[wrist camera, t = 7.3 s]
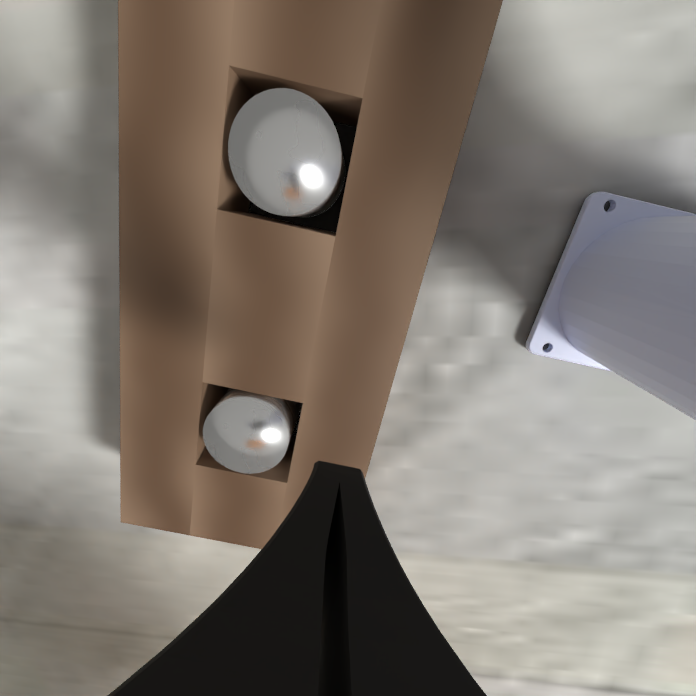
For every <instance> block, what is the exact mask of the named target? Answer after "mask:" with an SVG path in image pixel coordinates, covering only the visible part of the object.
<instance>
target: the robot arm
mask: <svg viewBox="0 0 696 696" xmlns="http://www.w3.org/2000/svg"><path fill="white" fill-rule="evenodd" d="M607 201H609V202H610V208H609V209H608V211H605V210H604V204H605V203H606V202H607ZM546 343H549V347H548V348H547V349H545V350H543V346H544V344H546ZM526 348H527V350H528V351H529V352H531V353H533V354H536V355H540V356H545V357H549V358H554V359H558V360H563V361H567V362H572V363H576V364H581V365H585V366H590V367H595V368H599V369H604V370H608V371H613V372H615V373H616V374H618V375H620V376H621V377H623V378H625V379H626V380H628V381H630V382H632V383H633V384H635V385H637V386H638V387H640V388H642V389H644V390H645V391H647V392H649V393H650V394H652V395H654V396H655V397H657V398H659V399H661V400H662V401H664V402H666V403H667V404H669V405H671V406H673V407H674V408H676V409H678V410H679V411H681V412H683V413H684V414H686V415H688V416H690V417H691V418H693V419H695V420H696V214H694V213H690V212H686V211H682V210H677V209H673V208H669V207H665V206H661V205H657V204H653V203H649V202H644V201H640V200H636V199H632V198H628V197H624V196H620V195H616V194H611V193H607V192H594V193H592V194H590V195H589V196H588V197H587V198H586V199H585V201H584V203H583V206H582V208H581V211H580V213H579V215H578V218H577V220H576V223H575V225H574V228H573V230H572V232H571V235H570V237H569V240H568V242H567V244H566V247H565V249H564V252H563V254H562V257H561V259H560V261H559V264H558V266H557V269H556V271H555V273H554V276H553V278H552V281H551V283H550V286H549V288H548V290H547V293H546V295H545V298H544V300H543V303H542V305H541V307H540V310H539V312H538V315H537V317H536V319H535V322H534V324H533V327H532V329H531V332H530V334H529V336H528V339H527V341H526ZM108 696H487V695H486V694H485V693H484V692H483V690H482V689H481V688H480V686H479V685H478V684H477V683H476V681H475V680H474V679H473V677H472V676H471V675H470V673H469V672H468V670H467V669H466V667H465V666H464V665H463V663H462V662H461V660H460V659H459V658H458V656H457V655H456V653H455V652H454V650H453V649H452V648H451V646H450V645H449V643H448V642H447V641H446V639H445V638H444V636H443V635H442V633H441V632H440V631H439V629H438V627H437V626H436V624H435V623H434V621H433V620H432V618H431V616H430V615H429V613H428V612H427V610H426V608H425V607H424V605H423V604H422V602H421V600H420V599H419V597H418V595H417V594H416V592H415V590H414V588H413V587H412V585H411V583H410V581H409V580H408V578H407V576H406V574H405V572H404V570H403V568H402V567H401V565H400V563H399V561H398V559H397V557H396V555H395V553H394V551H393V549H392V547H391V544H390V542H389V540H388V538H387V536H386V534H385V531H384V529H383V527H382V524H381V522H380V520H379V517H378V515H377V513H376V510H375V508H374V505H373V502H372V499H371V497H370V494H369V491H368V488H367V485H366V482H365V479H364V475H363V472H362V471H361V469H358V468H353V467H348V466H344V465H339V464H334V463H329V462H324V461H317V462H316V463H314V467H313V470H312V473H311V475H310V478H309V480H308V482H307V484H306V485H305V487H304V489H303V491H302V493H301V494H300V496H299V498H298V499H297V501H296V503H295V504H294V506H293V507H292V509H291V511H290V512H289V514H288V515H287V516H286V518H285V519H284V521H283V522H282V523H281V525H280V526H279V527H278V529H277V530H276V532H275V533H274V534H273V536H272V537H271V538H270V540H269V541H268V542H267V543H266V545H265V546H264V547H263V548H262V550H261V551H260V552H259V553H258V555H257V556H256V557H255V558H254V559H253V560H252V562H251V563H250V564H249V565H248V566H247V567H246V568H245V570H244V571H243V572H242V573H241V574H240V575H239V576H238V577H237V578H236V579H235V580H234V581H233V583H232V584H231V585H230V586H229V587H228V588H227V589H226V590H225V591H224V592H223V593H222V594H221V595H220V596H219V597H218V598H217V599H216V600H215V601H214V602H213V603H212V604H211V605H210V606H209V607H208V608H207V609H206V610H205V611H204V612H203V613H202V614H201V615H200V616H199V617H198V618H197V619H195V620H194V621H193V622H192V623H191V624H190V625H189V626H188V627H187V628H186V629H185V630H184V631H183V632H182V633H181V634H179V635H178V636H177V637H176V638H175V639H174V640H173V641H172V642H171V643H170V644H169V645H167V646H166V647H165V648H164V649H163V650H162V651H161V652H159V653H158V654H157V655H156V656H155V657H154V658H152V659H151V660H150V661H149V662H148V663H146V664H145V665H144V666H143V667H142V668H140V669H139V670H138V671H137V672H136V673H134V674H133V675H132V676H131V677H130V678H128V679H127V680H126V681H125V682H124V683H122V684H121V685H120V686H119V687H118V688H116V689H115V690H114V691H113V692H112V693H110V694H109V695H108Z"/></svg>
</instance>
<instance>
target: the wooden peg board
mask: <svg viewBox="0 0 696 696" xmlns="http://www.w3.org/2000/svg"><path fill="white" fill-rule="evenodd" d="M502 1H503V0H118V62H119V266H120V471H121V522H123V523H128V524H133V525H139V526H144V527H149V528H154V529H160V530H165V531H170V532H175V533H181V534H186V535H191V536H196V537H201V538H207V539H212V540H217V541H222V542H228V543H233V544H238V545H243V546H248V547H254V548H259V549H262V548H263V547H264V546H265V545H266V543H267V542H268V541H269V540H270V538H271V537H272V536H273V534H274V533H275V532H276V530H277V529H278V527H279V526H280V525H281V523H282V522H283V521H284V519H285V518H286V516H287V515H288V514H289V512H290V511H291V509H292V507H293V506H294V504H295V503H296V501H297V499H298V498H299V496H300V494H301V493H302V491H303V489H304V487H305V485H306V484H307V482H308V480H309V478H310V475H311V473H312V470H313V467H314V463H316V462H317V461H324V462H329V463H334V464H339V465H344V466H348V467H353V468H358V469H361V471H362V472H363V475H364V479H365V477H366V473H367V470H368V466H369V463H370V460H371V456H372V453H373V449H374V446H375V442H376V439H377V435H378V432H379V428H380V425H381V421H382V418H383V414H384V411H385V407H386V404H387V401H388V397H389V394H390V390H391V387H392V383H393V380H394V376H395V373H396V369H397V366H398V362H399V359H400V355H401V352H402V348H403V345H404V341H405V338H406V335H407V331H408V328H409V324H410V321H411V317H412V314H413V310H414V307H415V303H416V300H417V296H418V293H419V289H420V286H421V282H422V279H423V276H424V272H425V269H426V265H427V262H428V258H429V255H430V251H431V248H432V244H433V241H434V237H435V234H436V230H437V227H438V223H439V220H440V216H441V213H442V210H443V206H444V203H445V199H446V196H447V192H448V189H449V185H450V182H451V178H452V175H453V171H454V168H455V164H456V161H457V157H458V154H459V151H460V147H461V144H462V140H463V137H464V133H465V130H466V126H467V123H468V119H469V116H470V112H471V109H472V105H473V102H474V98H475V95H476V91H477V88H478V85H479V81H480V78H481V74H482V71H483V67H484V64H485V60H486V57H487V53H488V50H489V46H490V43H491V39H492V36H493V32H494V29H495V26H496V22H497V19H498V15H499V12H500V8H501V5H502ZM275 88H288V89H294V90H297V91H300V92H302V93H304V94H306V95H308V96H310V97H311V98H313V99H314V100H315V101H317V102H318V103H319V104H320V105H321V106H322V107H323V108H324V110H325V111H326V112H327V113H328V115H329V116H330V118H331V119H332V121H334V122H338V123H342V124H346V125H351V126H355V127H357V129H356V134H355V140H354V145H353V150H352V155H351V160H350V165H349V170H348V175H347V180H346V186H345V191H344V196H343V201H342V206H341V211H340V216H339V221H338V226H337V231H336V232H331V231H327V230H323V229H318V228H314V227H310V226H305V225H301V224H297V223H292V222H288V221H284V220H279V219H275V218H270V217H266V216H262V215H257V214H253V213H249V205H250V200H249V199H248V198H247V197H246V196H245V195H244V193H243V192H242V191H241V189H240V188H239V186H238V184H237V183H236V181H235V178H234V176H233V174H232V170H231V167H230V163H229V156H228V140H229V134H230V130H231V126H232V124H233V121H234V119H235V117H236V115H237V114H238V112H239V111H240V109H241V108H242V107H243V105H244V104H245V103H246V102H247V101H248V100H250V99H251V98H252V97H254V96H255V95H257V94H259V93H261V92H263V91H266V90H269V89H275ZM229 388H233V389H238V390H242V391H247V392H252V393H257V394H261V395H266V396H271V397H276V398H281V399H285V400H290V401H295V402H300V403H303V405H302V410H301V415H300V420H299V425H298V431H297V436H293V435H291V438H290V441H289V444H288V448H287V451H286V453H285V455H284V457H283V458H282V460H281V461H280V462H279V463H278V464H277V465H276V466H274V467H273V468H271V469H269V470H267V471H264V472H261V473H253V474H247V473H240V472H236V471H233V470H230V469H228V468H226V467H224V466H223V465H221V464H220V463H219V462H217V461H216V460H215V459H214V458H213V457H212V456H211V454H210V453H209V451H208V450H207V448H206V446H205V443H204V440H203V426H204V422H205V420H206V418H207V416H208V415H209V414H210V412H211V411H212V410H213V408H214V407H215V406H216V405H217V403H218V402H219V401H220V400H221V398H222V397H223V396H224V395H225V393H226V392H227V391H228V390H229Z"/></svg>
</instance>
